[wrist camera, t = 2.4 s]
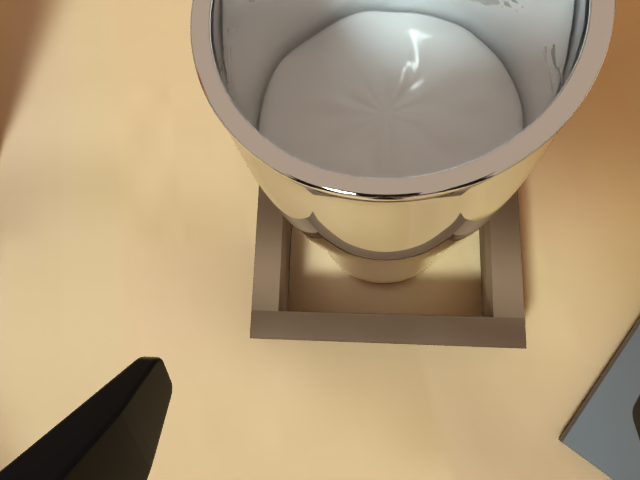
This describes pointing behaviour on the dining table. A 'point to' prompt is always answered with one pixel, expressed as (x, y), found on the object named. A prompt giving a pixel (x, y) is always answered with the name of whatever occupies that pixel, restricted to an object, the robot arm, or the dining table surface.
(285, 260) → the walnut holder
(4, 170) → the dining table surface
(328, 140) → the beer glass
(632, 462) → the slate mat
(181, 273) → the dining table surface
